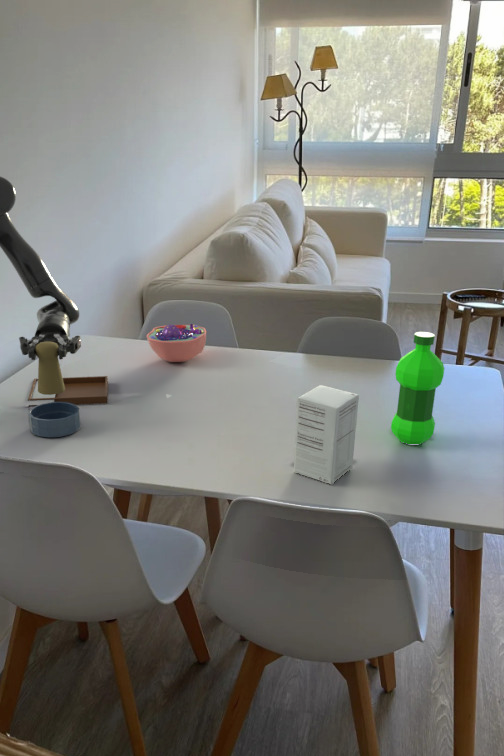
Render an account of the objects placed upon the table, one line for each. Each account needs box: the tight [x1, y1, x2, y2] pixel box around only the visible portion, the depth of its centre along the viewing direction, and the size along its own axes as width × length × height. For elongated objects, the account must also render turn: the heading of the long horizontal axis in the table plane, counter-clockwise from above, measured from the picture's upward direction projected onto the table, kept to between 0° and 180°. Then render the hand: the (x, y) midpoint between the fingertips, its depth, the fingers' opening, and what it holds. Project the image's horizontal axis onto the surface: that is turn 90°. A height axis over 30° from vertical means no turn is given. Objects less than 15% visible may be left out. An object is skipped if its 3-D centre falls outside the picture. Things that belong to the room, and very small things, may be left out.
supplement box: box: [293, 384, 360, 485], centre depth 143 cm, size 10×9×17 cm
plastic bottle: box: [390, 331, 445, 445], centre depth 156 cm, size 10×10×25 cm
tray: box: [27, 375, 109, 408], centre depth 183 cm, size 19×15×2 cm
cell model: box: [146, 323, 207, 363], centre depth 208 cm, size 17×20×11 cm
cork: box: [35, 342, 65, 396], centre depth 157 cm, size 6×6×11 cm
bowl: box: [27, 401, 82, 438], centre depth 162 cm, size 11×11×4 cm
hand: (46, 355), depth 153 cm, fingers closed on cork, 5 cm apart
